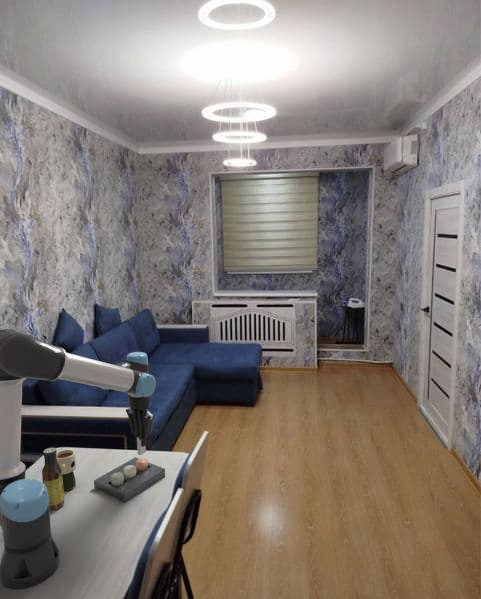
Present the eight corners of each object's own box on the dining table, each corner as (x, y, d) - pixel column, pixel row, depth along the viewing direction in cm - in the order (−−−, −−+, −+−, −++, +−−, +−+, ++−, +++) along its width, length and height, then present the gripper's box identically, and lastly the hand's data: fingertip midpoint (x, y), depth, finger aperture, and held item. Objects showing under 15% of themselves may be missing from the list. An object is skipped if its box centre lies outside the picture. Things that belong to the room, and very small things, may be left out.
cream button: (130, 481, 162) (129, 472, 162) (121, 478, 165) (121, 469, 164) (138, 476, 166) (138, 467, 165) (130, 472, 168) (130, 463, 168)
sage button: (117, 489, 157) (116, 480, 157) (108, 485, 160) (108, 476, 159) (126, 483, 161) (126, 474, 160) (118, 480, 163) (117, 471, 163)
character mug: (75, 494, 158) (73, 459, 156) (54, 497, 156) (51, 462, 154) (78, 477, 169) (76, 445, 167) (58, 480, 167) (55, 448, 165)
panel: (124, 502, 153) (124, 494, 152) (94, 488, 162) (93, 480, 161) (165, 476, 169) (164, 468, 169) (135, 464, 178) (135, 457, 178)
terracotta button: (142, 474, 167) (141, 465, 167) (133, 470, 170) (133, 462, 169) (150, 468, 171) (150, 460, 170) (142, 465, 173) (142, 457, 173)
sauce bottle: (68, 505, 152) (64, 450, 149) (49, 513, 147) (45, 457, 144) (59, 497, 156) (55, 444, 153) (41, 505, 152) (36, 450, 149)
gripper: (159, 394, 165) (161, 453, 169) (134, 387, 172) (137, 444, 176) (144, 400, 159) (146, 462, 163) (119, 393, 166) (122, 452, 170)
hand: (141, 453), depth 169 cm, fingers closed
